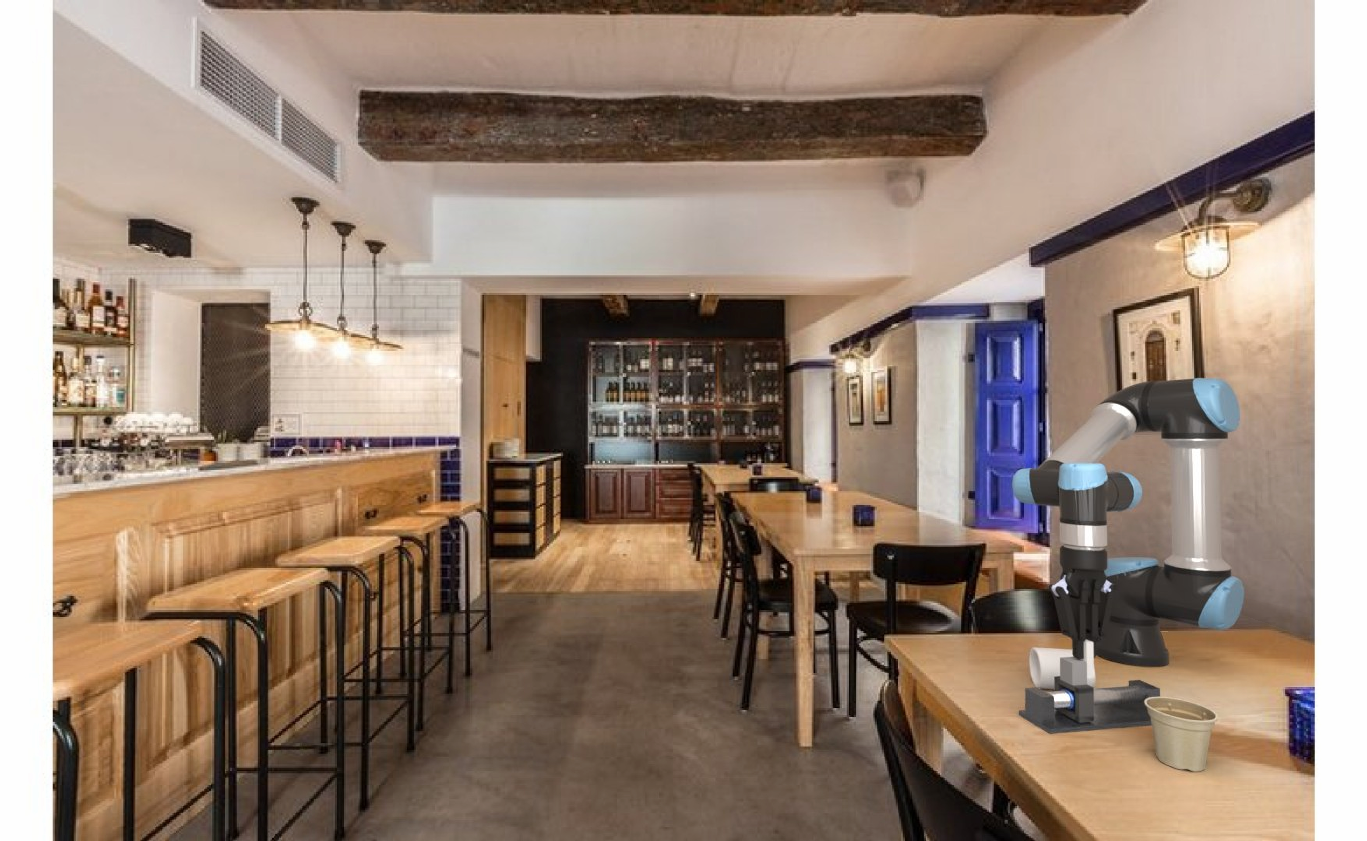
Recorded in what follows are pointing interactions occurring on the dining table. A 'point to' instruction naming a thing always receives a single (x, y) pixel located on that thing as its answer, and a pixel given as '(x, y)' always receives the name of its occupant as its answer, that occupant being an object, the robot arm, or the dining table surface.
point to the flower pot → (1181, 731)
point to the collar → (1076, 689)
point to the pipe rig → (1109, 708)
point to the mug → (1048, 666)
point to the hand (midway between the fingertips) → (1084, 675)
